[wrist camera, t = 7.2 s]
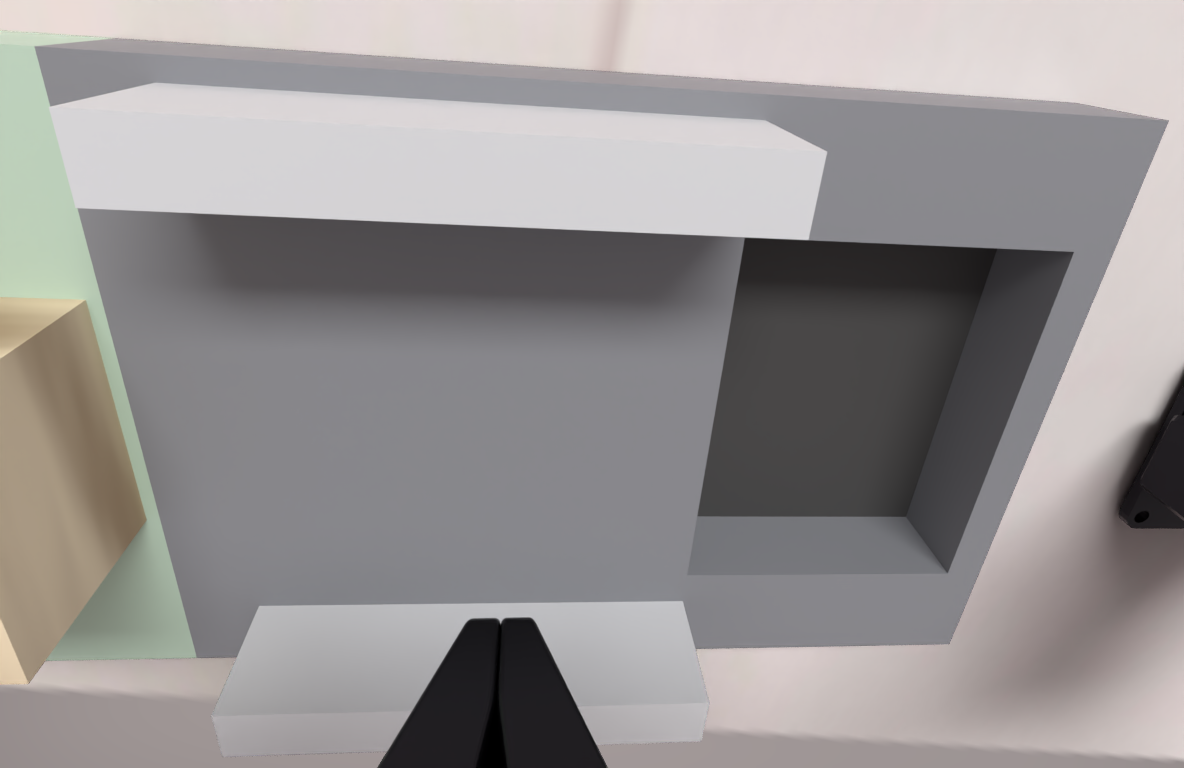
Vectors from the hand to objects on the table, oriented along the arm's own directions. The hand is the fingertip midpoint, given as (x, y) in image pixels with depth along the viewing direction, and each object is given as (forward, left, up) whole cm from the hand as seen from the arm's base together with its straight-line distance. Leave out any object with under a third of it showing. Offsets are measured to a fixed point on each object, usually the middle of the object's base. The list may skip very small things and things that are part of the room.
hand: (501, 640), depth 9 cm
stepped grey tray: (+2, +2, -12) cm, 12 cm away
